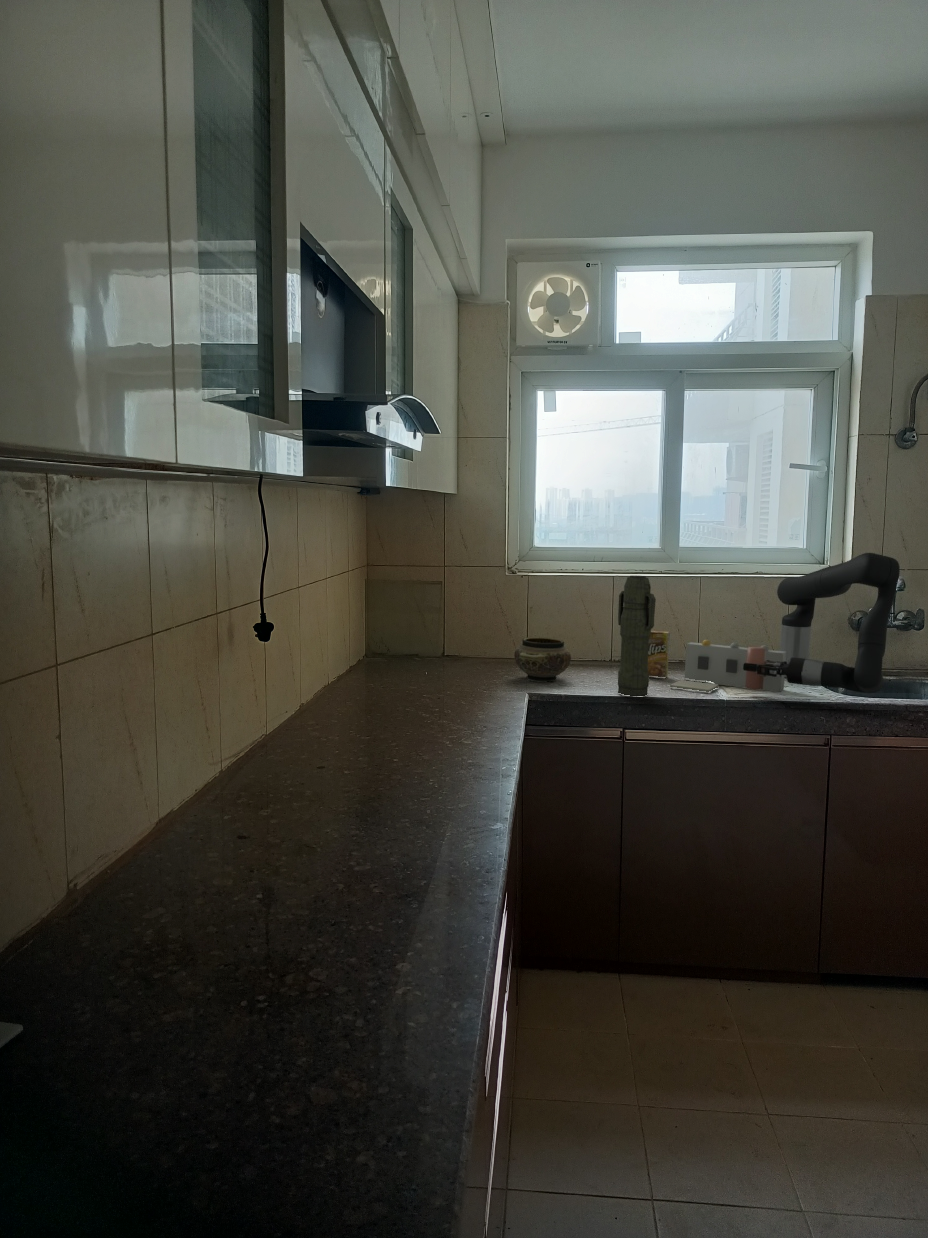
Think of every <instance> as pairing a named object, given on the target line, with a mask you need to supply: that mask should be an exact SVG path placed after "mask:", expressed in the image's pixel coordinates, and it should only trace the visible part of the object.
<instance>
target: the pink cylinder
mask: <svg viewBox="0 0 928 1238" xmlns="http://www.w3.org/2000/svg"><path fill="white" fill-rule="evenodd" d="M747 648H748V650H747V663H752V664H765V648H763V647H761V646H747ZM761 671H764V668H761ZM763 680H764V675H761V674H757V673H756V672H753V671H746V682H745V689H747V690H755V691H756V690H757V691H758V690H760V689H763Z"/></svg>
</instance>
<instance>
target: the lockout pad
mask: <svg viewBox="0 0 928 1238" xmlns="http://www.w3.org/2000/svg"><path fill="white" fill-rule="evenodd" d="M670 687H677V688H683V689H692V690H699V691H706V692H709V691H711V690H713V689H715V688H718V687H720V686H719V685H718V684H710V683H702V682H694V681H686V680H685V679H684V680H683V679H681V680H678V681H676V682H673V683H672V684H669V688H670Z"/></svg>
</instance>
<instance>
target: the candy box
mask: <svg viewBox="0 0 928 1238" xmlns="http://www.w3.org/2000/svg"><path fill="white" fill-rule="evenodd" d="M670 634H671V633H670V631H664V630H651V636H650V638H649V646H648V671H649V676H658V677H667V678H668V672H669V670H668V669H669V656H670V654H669V651H670V650H669V649H670Z"/></svg>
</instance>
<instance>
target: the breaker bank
mask: <svg viewBox="0 0 928 1238" xmlns="http://www.w3.org/2000/svg"><path fill="white" fill-rule="evenodd" d="M685 644H686V646H685V663H684V679H685V678H689V679H695V680H707V681H711V682H714V683H715V684H717V685H718V684H719V685H720V686H729V687H736V688H745V682H746V671H745V670H743V664H744V663H747V650H748V647H742V646H740V645H739V643H738V642H736V641H735V642H732V643H731V644H730V645H721V644H712V643H711V641H710V640H709V639H704V640H703V641H702V642H701V643H700V642H694V641H693V642H692V641H691V642H687V643H685ZM760 647H763V648H765V661H766V660H769V661H783V662H784V661H786V652H784V651H780V650H772V649H771V650H770V649H769V647H768V646H767V645H765V644H763V645H761V646H760ZM785 678H786V677H785V675H781V677H777V676H776V677H773V676H767V675H764V680H763V689H760V690H761V691H768V692H775V693H777V692H778V693H783V691H784V689H785ZM745 689H746V688H745Z"/></svg>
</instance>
